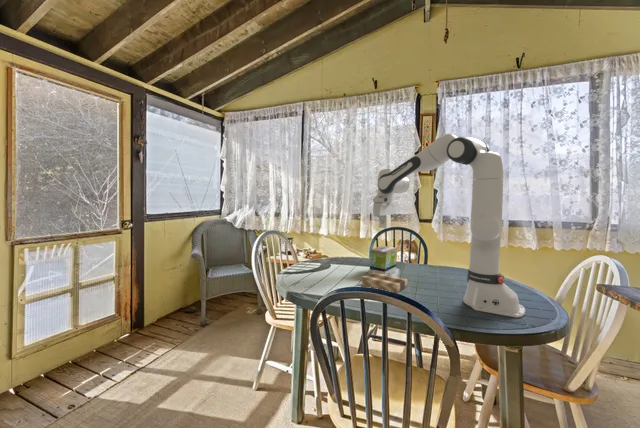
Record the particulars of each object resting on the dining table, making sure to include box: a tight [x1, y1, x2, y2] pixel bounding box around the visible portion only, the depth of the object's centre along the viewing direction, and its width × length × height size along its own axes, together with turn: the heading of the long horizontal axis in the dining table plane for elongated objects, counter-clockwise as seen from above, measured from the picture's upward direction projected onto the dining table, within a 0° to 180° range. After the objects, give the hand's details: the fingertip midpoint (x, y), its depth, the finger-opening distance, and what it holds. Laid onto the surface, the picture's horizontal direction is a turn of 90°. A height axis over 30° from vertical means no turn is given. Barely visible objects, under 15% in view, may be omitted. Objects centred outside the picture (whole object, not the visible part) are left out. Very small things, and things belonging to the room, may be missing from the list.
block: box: [378, 215, 391, 229], centre depth 168 cm, size 4×4×7 cm
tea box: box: [368, 245, 398, 276], centre depth 171 cm, size 15×10×15 cm
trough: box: [361, 272, 408, 294], centre depth 150 cm, size 19×12×4 cm, turn 51°
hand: (384, 223), depth 168 cm, fingers closed on block, 4 cm apart
